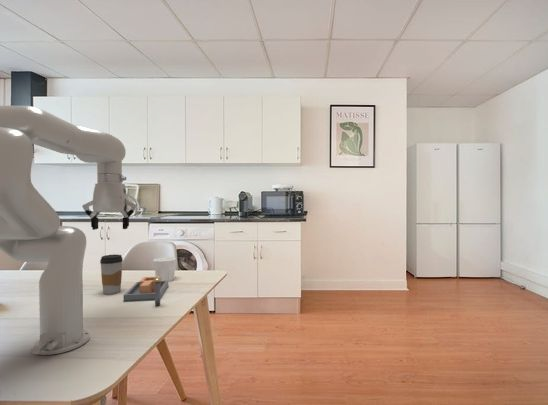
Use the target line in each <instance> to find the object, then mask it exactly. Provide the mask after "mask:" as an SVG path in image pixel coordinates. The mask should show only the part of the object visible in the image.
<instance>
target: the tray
mask: <svg viewBox="0 0 548 405" xmlns="http://www.w3.org/2000/svg"><path fill="white" fill-rule="evenodd" d="M168 288H169V282H168V281H161V288H160V300H161V298H162V297H163V295H164V294H165V292H166V291H167V289H168ZM145 301H155V292H152V293H141V294H140V293H139V281H136V282H135V283H134V284H133V285H132V286H131V287H130V288H129V289H128V290H127V291H126V292H125V293H124V294H123V303H124V302H125V303H126V302H145Z"/></svg>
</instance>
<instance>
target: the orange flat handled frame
mask: <svg viewBox="0 0 548 405" xmlns="http://www.w3.org/2000/svg"><path fill="white" fill-rule="evenodd" d="M154 278H161V277H155V276H144V277H143V278H141V279H140V280H139V281H138V282H139V293H140V294H141V293H152V292H155V282H154ZM160 288H161V281H160Z"/></svg>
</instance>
